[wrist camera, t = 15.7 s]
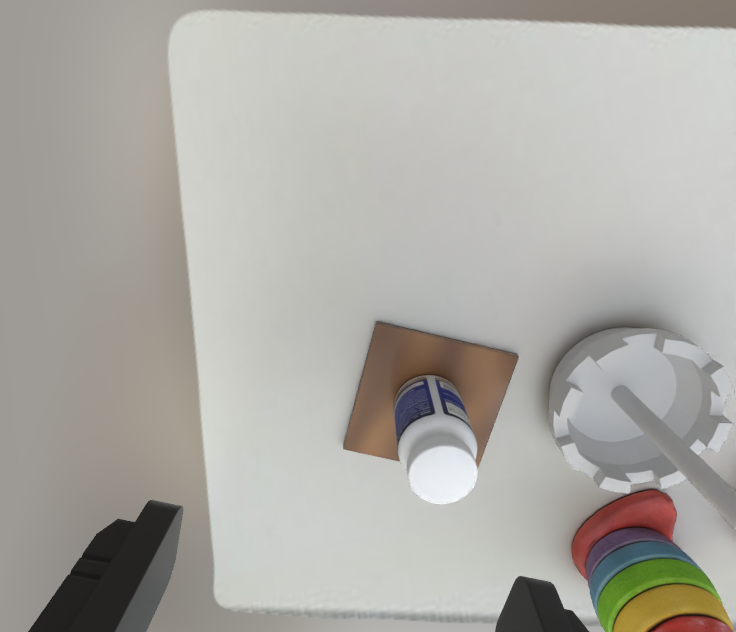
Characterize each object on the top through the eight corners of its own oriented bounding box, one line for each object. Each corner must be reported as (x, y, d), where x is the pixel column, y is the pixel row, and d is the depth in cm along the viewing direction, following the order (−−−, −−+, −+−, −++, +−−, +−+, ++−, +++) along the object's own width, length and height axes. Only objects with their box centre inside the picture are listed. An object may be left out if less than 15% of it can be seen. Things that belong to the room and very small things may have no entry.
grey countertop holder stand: (532, 328, 42) (866, 716, 14) (696, 303, 41) (1411, 661, 13) (541, 463, 46) (812, 979, 18) (690, 444, 45) (1223, 949, 17)
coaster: (343, 445, 46) (343, 449, 45) (376, 320, 42) (376, 323, 41) (473, 473, 47) (474, 477, 46) (517, 353, 43) (519, 356, 42)
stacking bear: (685, 571, 50) (845, 791, 33) (582, 598, 51) (685, 824, 34) (667, 482, 47) (833, 676, 30) (556, 513, 48) (656, 716, 31)
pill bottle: (394, 434, 45) (400, 513, 35) (392, 374, 43) (397, 440, 33) (461, 431, 45) (485, 509, 35) (461, 371, 43) (487, 436, 33)
